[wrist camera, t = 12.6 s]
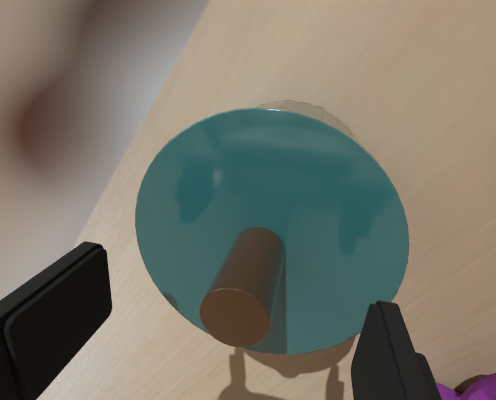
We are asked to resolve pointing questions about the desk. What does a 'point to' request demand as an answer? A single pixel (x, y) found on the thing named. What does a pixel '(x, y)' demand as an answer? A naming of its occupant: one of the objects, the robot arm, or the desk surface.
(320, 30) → the desk surface
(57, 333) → the robot arm
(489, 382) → the mug
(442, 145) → the desk surface
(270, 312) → the lid
